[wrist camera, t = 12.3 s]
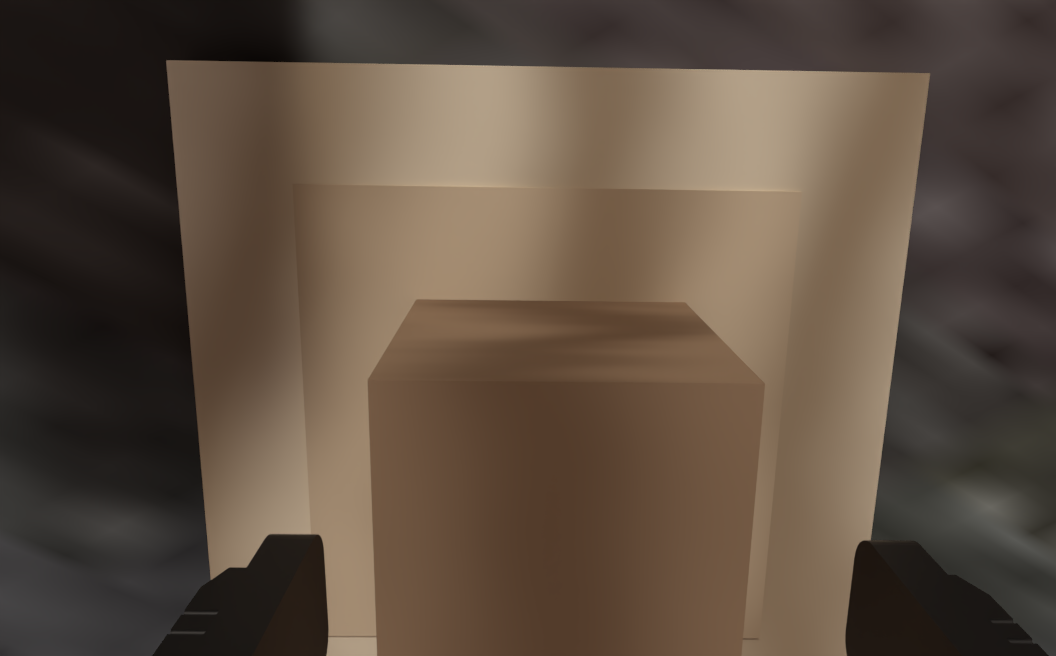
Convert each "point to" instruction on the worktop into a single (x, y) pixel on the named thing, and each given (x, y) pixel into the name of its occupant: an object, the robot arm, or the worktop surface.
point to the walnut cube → (561, 481)
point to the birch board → (541, 276)
